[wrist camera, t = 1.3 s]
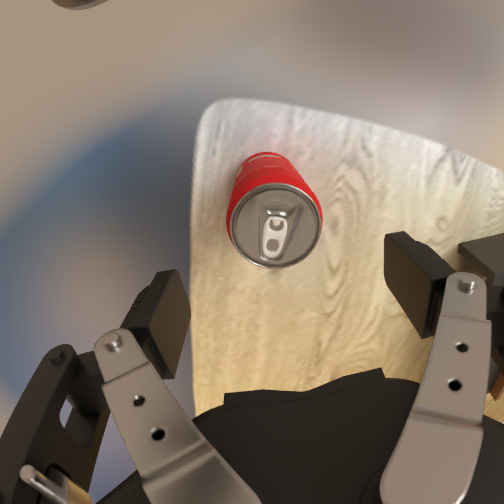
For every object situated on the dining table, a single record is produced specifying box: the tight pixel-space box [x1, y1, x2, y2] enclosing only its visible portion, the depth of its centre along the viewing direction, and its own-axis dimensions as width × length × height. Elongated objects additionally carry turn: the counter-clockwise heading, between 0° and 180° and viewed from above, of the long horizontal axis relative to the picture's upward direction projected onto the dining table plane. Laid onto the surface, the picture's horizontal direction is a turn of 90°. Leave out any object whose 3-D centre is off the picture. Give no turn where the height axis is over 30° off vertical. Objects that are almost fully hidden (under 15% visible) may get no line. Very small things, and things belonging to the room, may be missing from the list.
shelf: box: [458, 233, 504, 401], centre depth 29 cm, size 24×10×9 cm, turn 11°
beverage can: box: [226, 152, 323, 269], centre depth 21 cm, size 5×5×12 cm
